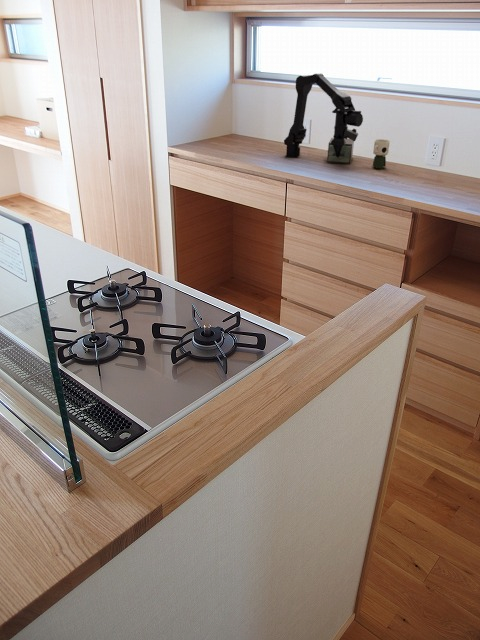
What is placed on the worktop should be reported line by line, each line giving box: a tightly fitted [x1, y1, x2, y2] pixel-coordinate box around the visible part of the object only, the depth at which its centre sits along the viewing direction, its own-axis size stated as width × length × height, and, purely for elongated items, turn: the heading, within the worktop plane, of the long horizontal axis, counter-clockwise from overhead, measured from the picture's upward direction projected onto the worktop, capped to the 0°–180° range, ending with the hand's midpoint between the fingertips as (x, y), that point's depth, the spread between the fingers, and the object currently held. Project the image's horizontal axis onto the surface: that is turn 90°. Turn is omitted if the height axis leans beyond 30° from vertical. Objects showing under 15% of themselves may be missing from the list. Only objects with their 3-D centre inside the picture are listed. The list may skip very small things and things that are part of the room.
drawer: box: [327, 144, 351, 162], centre depth 274 cm, size 17×10×8 cm, turn 166°
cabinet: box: [326, 137, 355, 165], centre depth 277 cm, size 14×12×10 cm
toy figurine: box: [372, 138, 391, 170], centre depth 262 cm, size 11×7×13 cm, turn 132°
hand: (337, 157), depth 266 cm, fingers closed
